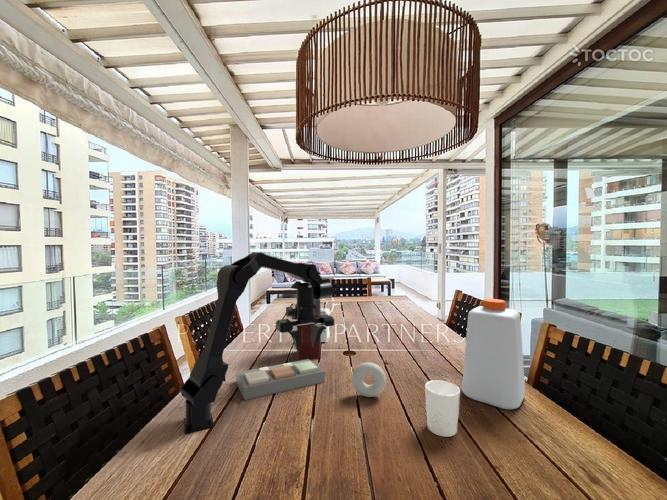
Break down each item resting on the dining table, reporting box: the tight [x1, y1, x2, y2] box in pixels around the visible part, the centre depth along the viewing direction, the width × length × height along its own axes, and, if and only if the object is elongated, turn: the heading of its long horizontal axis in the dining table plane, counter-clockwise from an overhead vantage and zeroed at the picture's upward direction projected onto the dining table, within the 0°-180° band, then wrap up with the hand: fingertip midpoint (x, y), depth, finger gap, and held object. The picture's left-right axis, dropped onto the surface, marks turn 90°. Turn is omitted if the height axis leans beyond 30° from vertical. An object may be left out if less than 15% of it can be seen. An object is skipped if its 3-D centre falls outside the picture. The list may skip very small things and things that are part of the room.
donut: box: [351, 361, 387, 398], centre depth 90 cm, size 10×4×10 cm, turn 82°
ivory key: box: [245, 370, 269, 385], centre depth 94 cm, size 6×6×2 cm
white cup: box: [424, 379, 461, 438], centre depth 74 cm, size 8×8×10 cm
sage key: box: [294, 360, 318, 375], centre depth 101 cm, size 6×6×2 cm
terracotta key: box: [270, 365, 294, 380], centre depth 97 cm, size 6×6×2 cm
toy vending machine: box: [296, 299, 322, 361], centre depth 122 cm, size 9×11×28 cm
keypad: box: [235, 359, 325, 401], centre depth 99 cm, size 13×25×4 cm, turn 117°
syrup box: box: [321, 307, 331, 344], centre depth 141 cm, size 6×6×14 cm
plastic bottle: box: [461, 298, 526, 410], centre depth 90 cm, size 15×15×28 cm
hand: (305, 348), depth 101 cm, fingers open, 5 cm apart
